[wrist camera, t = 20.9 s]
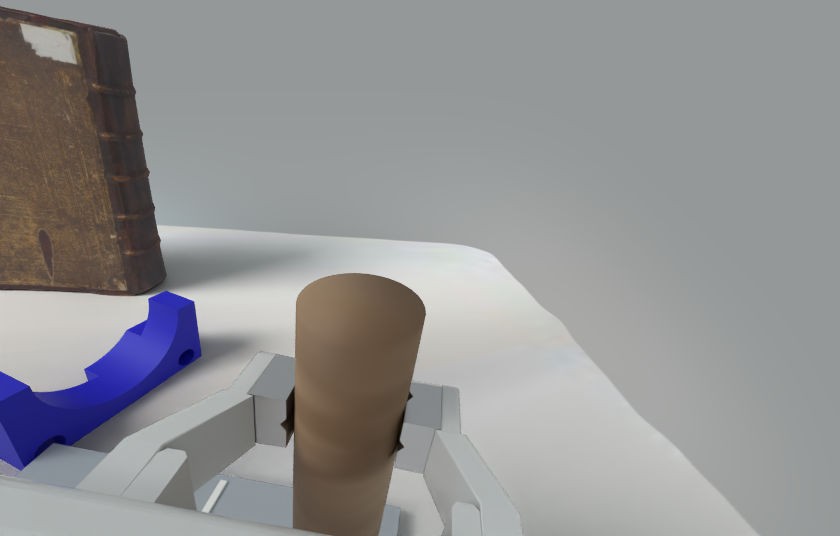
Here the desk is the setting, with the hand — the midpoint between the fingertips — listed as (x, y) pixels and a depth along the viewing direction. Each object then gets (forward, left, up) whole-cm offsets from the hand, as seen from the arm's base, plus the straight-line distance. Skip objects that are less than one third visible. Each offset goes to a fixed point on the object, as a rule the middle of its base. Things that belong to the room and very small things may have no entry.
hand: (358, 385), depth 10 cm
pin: (0, -1, -5) cm, 6 cm away
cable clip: (-20, +10, -16) cm, 28 cm away
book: (-35, +22, -16) cm, 45 cm away
